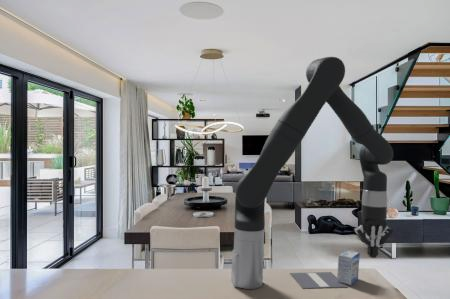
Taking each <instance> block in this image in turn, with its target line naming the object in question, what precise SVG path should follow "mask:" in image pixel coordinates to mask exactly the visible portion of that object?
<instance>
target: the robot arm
mask: <svg viewBox="0 0 450 299" xmlns="http://www.w3.org/2000/svg"><path fill="white" fill-rule="evenodd" d="M305 76H306V81H307V82H308V84H307V86H306V88H305V90H304V91H303V92H302V93H301V95H300V96H299V97H298V98H297V99H296V100H295V101H294V102H293V103H292V104H291V105H290V106H288V108H287V109H286V110H285V111H284V112H283V113H282V114H281V116H280V117H278V120H277V121H276V123H275V124H274V126H273V127H272V130H270V132H269V134H268V137H267V138H266V140H265V142H264V145H263V146H262V150H261V152H260V154H259V156H258V158H257V160H256V161H255V163H254V164H253V166H252V167H251V168H250V169H249V171H248V173H246V175H243V177H241V178H240V179H239V180H238V182H236V186H235V198H234V199H235V206H234V208H235V209H234V230H233V231H234V233H233V234H234V235H233V249H232V252H231V253H232V254H231V259H232V260H231V281H232V285H233V287H234V288H241V289H243V290H245V289H246V290H252V289H253V290H254V289H259V288H260V287H262V286H263V283H264V282H263V280H264V256H265V255H264V250H265V248H264V247H265V246H264V245H265V227H266V226H265V225H266V223H265V222H266V220H265V206H266V204H265V202H266V198H267V195H268V194H269V191H270V189H271V187H272V186H273V183H274V182H275V180H276V178H277V176H278V174H280V171H281V170H282V169H283V167H285V165H286V163H287V162H288V161H289V160H290V159H291V156H293V154H294V153H295V151H296V150H297V148H298V147H299V145H300V144H301V142H302V141H303V139H304V138H305V136H306V134H307V132H308V131H309V129H310V127H311V126H312V124H313V123H314V121H315V120H316V118H317V117H318V115H319V113H320V112H321V110H322V108H323V107H324V105H325V104H326V103H327V105H328V106H329V107H330V108H331V109H332V111H333V113H335V115H336V116H337V117H338V119H339V120H340V121H341V123H342V124H343V126H344V127H345V130H347V132H348V134H349V135H350V137H351V138H352V140H353V141H354V142H355V143H356V144H360V145H361V147H360V149H359V152H358V154H359V156H358V157H359V163H360V168H361V173H362V176H363V182H362V184H363V186H362V194H361V221H360V223H359V226H357V227H354V228H353V231H354V233H355V234H356V236H357V237H358V238H359V240H360V241H361V243H363V244H365V245H367V249H366V250H367V251H366V252H367V253H366V254H367V255H368V257H369V258H372V259H374V258H375V259H376V258H377V256H378V255H379V246H380V245H382V246H383V245H385V243H386V242H387V240H388V239H389V238H390V237H391V236H392V234H393V232H394V229H392V228H390V227H389V226H388V224H387V219H388V218H387V217H388V213H387V212H388V190H387V189H388V188H387V187H388V177H387V174H386V173H385V172H382V171H381V169H380V168H379V165H380V166H382V165H387V164H390V163H391V162H392V160H393V158H394V149H393V147H392V146H391V144H390V143H389V142H388V140H387V139H386V138H385V137H384V136H383V135H382V134H380V132H378V131H377V130H376V129H375V128H374V126H373V125H372V123H371V122H370V120H369V118H368V116H367V115H366V114H365V113H364V111H363V110H362V108H360V107H359V106H358V105H357V104H356V103H355V102H354V101H353V100H351V98H350V97H348V95H347V94H346V92H345V91H344V90H343V89H342V87H341V86H340V85H341V83H342V82H343V80H344V78H345V76H346V66H345V64H344V61H342V60H341V59H340V58H339V57H336V56H326V57H325V56H324V57H322V58H317V59H315V60H313V61H311V62H310V63H309V64H308V65H307V67H306V70H305ZM364 233H365V234H364Z"/></svg>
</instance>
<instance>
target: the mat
mask: <svg viewBox="0 0 450 299" xmlns="http://www.w3.org/2000/svg"><path fill="white" fill-rule="evenodd" d="M289 274H290V275H291V277H292V278H293V279H294V280H295V282H296V283H297V284H299V286H300V287H301V289H303V290H304V289H306V288H307V289H334V288H335V289H336V288H341V289H342V288H348V287H349V285H348V284H344V283H341V282H338V281H337V276H336V275H335V274H333V273H332V272H331V271H323V272H322V271H321V272H319V271H318V272H316V271H314V272H312V271H311V272H290V273H289Z"/></svg>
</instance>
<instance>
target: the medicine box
mask: <svg viewBox="0 0 450 299" xmlns="http://www.w3.org/2000/svg"><path fill="white" fill-rule="evenodd" d="M359 269H360V253H359V252H357V251H352V250H349V249H348V250H347V249H346V250H345V251H344V252H342V253H340V254H339V255H338V259H337V276H336V277H337V281H338V282H341V283H344V284H345V285H347V286H352V285H353V283H355V281H357V280H359V271H360V270H359Z"/></svg>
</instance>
